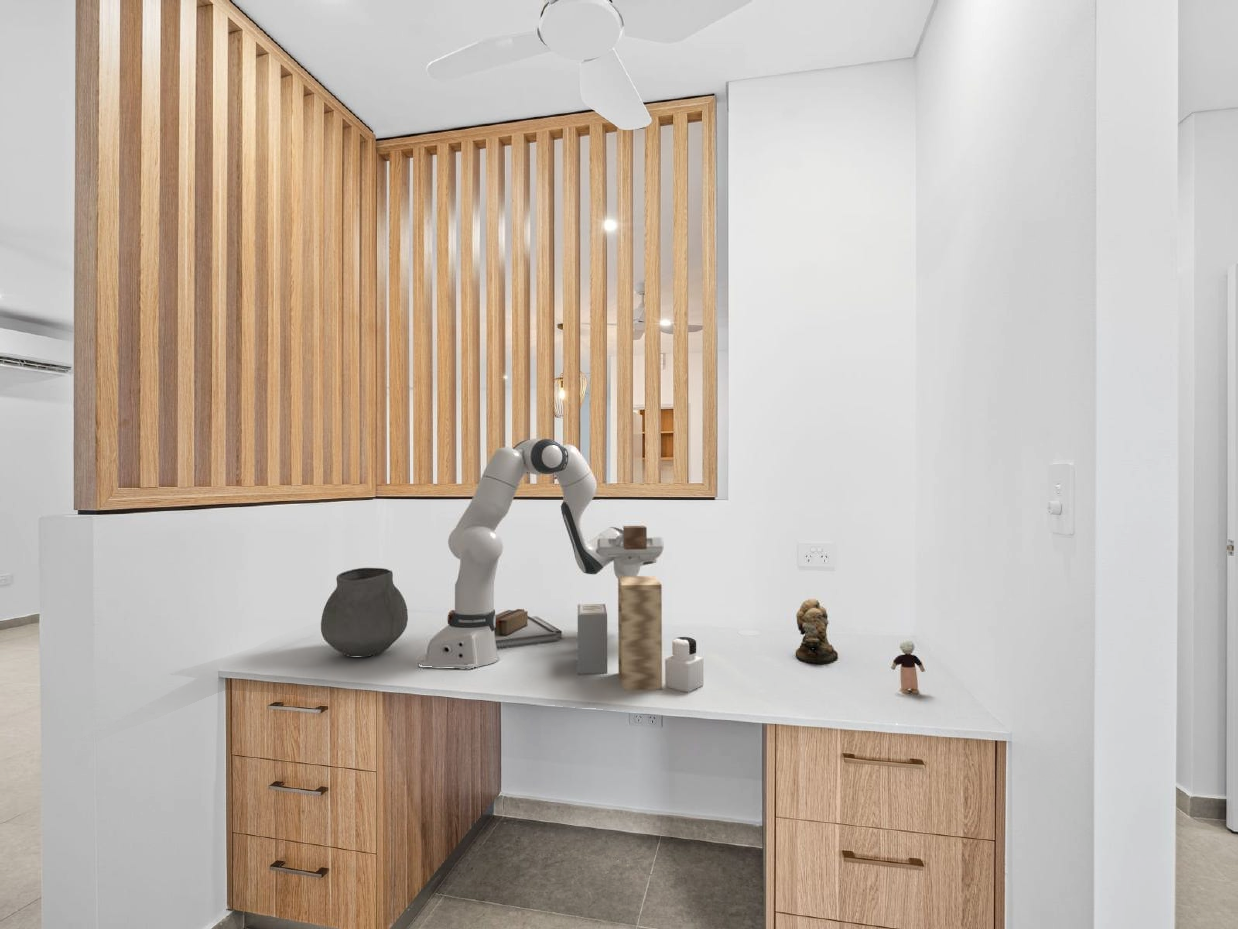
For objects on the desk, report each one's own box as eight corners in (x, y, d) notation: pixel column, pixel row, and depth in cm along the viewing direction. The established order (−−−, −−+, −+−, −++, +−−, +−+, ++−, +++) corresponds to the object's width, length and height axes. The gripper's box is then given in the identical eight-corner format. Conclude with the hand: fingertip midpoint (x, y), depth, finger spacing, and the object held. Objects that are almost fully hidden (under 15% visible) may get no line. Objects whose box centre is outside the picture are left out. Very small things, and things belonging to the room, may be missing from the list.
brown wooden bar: (624, 549, 173) (624, 527, 173) (620, 542, 191) (620, 522, 191) (646, 549, 174) (646, 527, 174) (640, 542, 191) (640, 522, 191)
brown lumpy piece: (836, 668, 175) (835, 606, 175) (792, 664, 179) (791, 603, 179) (838, 650, 192) (837, 594, 192) (798, 647, 196) (797, 592, 196)
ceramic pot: (300, 662, 182) (301, 575, 182) (358, 641, 205) (359, 563, 206) (371, 669, 175) (372, 578, 175) (423, 646, 198) (424, 566, 198)
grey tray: (451, 632, 218) (451, 610, 218) (534, 623, 232) (534, 603, 232) (472, 654, 191) (472, 629, 192) (564, 642, 205) (564, 619, 205)
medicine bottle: (680, 680, 165) (680, 633, 165) (704, 685, 160) (703, 638, 160) (664, 687, 159) (664, 639, 159) (688, 693, 155) (688, 643, 155)
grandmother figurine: (918, 688, 157) (918, 637, 157) (926, 694, 153) (926, 641, 154) (888, 689, 157) (887, 638, 157) (895, 694, 153) (895, 642, 153)
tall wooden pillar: (622, 690, 157) (621, 585, 157) (618, 673, 171) (618, 576, 171) (662, 689, 157) (661, 584, 158) (655, 672, 171) (654, 576, 172)
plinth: (577, 673, 170) (577, 614, 170) (577, 659, 184) (577, 603, 184) (607, 673, 170) (607, 613, 171) (605, 658, 184) (605, 603, 185)
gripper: (595, 545, 200) (596, 526, 188) (659, 544, 201) (664, 525, 189) (596, 564, 197) (596, 546, 185) (661, 563, 198) (666, 545, 186)
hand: (631, 535), depth 187 cm, fingers closed on brown wooden bar, 4 cm apart
